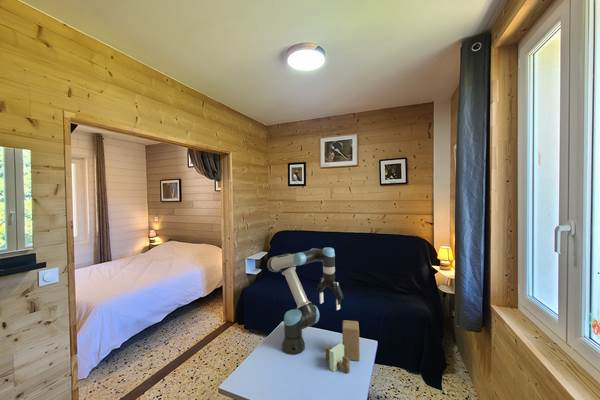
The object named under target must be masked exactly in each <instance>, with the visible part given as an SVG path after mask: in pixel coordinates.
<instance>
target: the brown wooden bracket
mask: <svg viewBox="0 0 600 400" xmlns="http://www.w3.org/2000/svg"><path fill="white" fill-rule="evenodd" d="M332 348H333V347H332ZM332 348H331V347H329V346H326V347H325V361H326V362H327V363H329V364H330V355H329V350H331V349H332ZM350 367H351V366H350V360H349V358H348V357H346V356H343V357H342V361H339V362H338V363H337V370H338V369H339V370H340V371H342V372H344V373H345V374H347V375H348V374H349V373H350V372H351V371H350V369H351V368H350Z"/></svg>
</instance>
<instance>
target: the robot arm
mask: <svg viewBox="0 0 600 400" xmlns="http://www.w3.org/2000/svg"><path fill="white" fill-rule="evenodd" d="M335 258H336V254H335V249H334V248H333V247H323V248H322V249H320V248H312V247H311V249H309V250H307V251H300V252H296V253H283V254H281V255H275V256H272V257H270V258H269V259H268V261H267V264H266V265H267V268H268V270H269V271H270V272H273V273H279V272H280V273H281V275H283V276H285V279H286V282H287V284H288V286H289V289H290V292H291V294H292V296H293V299H294V301H295V303H296V305H297V307H296V308H295V309H290V310H288V311H286V312H285V313H284V316H283V317H284V318H283V327H284V328H283V330H284V331H283V332H284V337H283V341H282V344H281V350H282V351H283V352H284V353H285V354H287V355H292V356H293V355H298V354H301V353H302V352H304V351H305V347H306V345H305V341H304V340H305V339H304V338H303V330H304V329H306V328H308V327H311V326H314V325H315V324H317V323H318V322H319V320H320V311H319V309H318V306H317V305H315V304H313V303H312V301H309V299H308V298H307V294H306V292H305V290H304V288H303V285H302V283H301V281H300V279H299V277H298V275H297V272H296V269H297V266H302V265H306V264H311V263H314V262H320V263H322V277H320V278H319V282H318V285H317V288H316V292H318V298H319V304H320V305H321V304H323V303H324V292H323V291H324V290H325V288H329V289H330V290H332V292H333V294H334V296H335V297H336V299H335V306H336V308H335V310H336V311H338V310H340V309H341V304H342V300H343V299H344V298H345V297H344V294H343V292H342V289H341V287H340V282H339V281H337V282H336V281H335V279H336V273H335V272H336V267H335V265H336V264H335V262H336V261H335Z"/></svg>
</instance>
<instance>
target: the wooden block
mask: <svg viewBox="0 0 600 400" xmlns="http://www.w3.org/2000/svg"><path fill="white" fill-rule="evenodd" d="M359 324H360V323H359V321H357V320H348V319H347V320H342V344H343V345H344V356H346V357H348V358H349V361H357V362H359V361H360V358H361V357H360V353H361V352H360V327H359Z"/></svg>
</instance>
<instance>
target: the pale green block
mask: <svg viewBox="0 0 600 400" xmlns="http://www.w3.org/2000/svg"><path fill="white" fill-rule="evenodd" d="M329 355H330V363H329V370H330V371H331V372H336V371H337V370H338V368H337V363H338V362H339V361H342V357H343V356H344V345H343V343H338V344H336V345H335V346H333V347H332V349H331V350H329Z"/></svg>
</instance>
